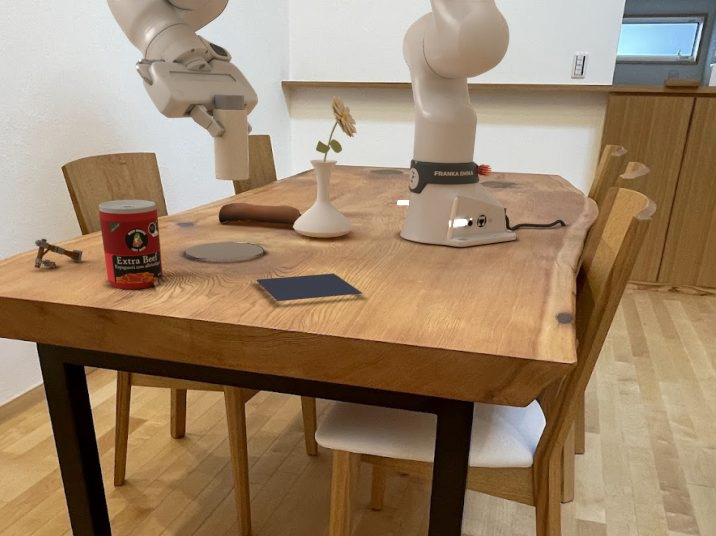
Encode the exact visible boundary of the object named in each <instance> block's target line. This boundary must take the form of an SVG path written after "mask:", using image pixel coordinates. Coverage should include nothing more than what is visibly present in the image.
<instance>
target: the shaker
mask: <svg viewBox="0 0 716 536" xmlns="http://www.w3.org/2000/svg"><path fill="white" fill-rule="evenodd" d="M214 98H215V109H212V113H213V117H212V118H213V119H214V120H215V121H220V123H221V124H222V126H223V127H224V128H225V132H224V133H223V134H222V136H221V137H216V138H213V151H214V170H215V179H216V180H221V181H246V180H249V179H250V164H249V163H250V160H249V135H248V122H249V121H248V116H247V110H245V109H244V95H214Z"/></svg>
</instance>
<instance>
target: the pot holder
mask: <svg viewBox="0 0 716 536" xmlns="http://www.w3.org/2000/svg"><path fill="white" fill-rule="evenodd" d="M255 281H256V283H258V284H259V285H260V286H261V287H262V288H264V290H265V291H267V293H269V295H271V297H272V298H274V300H275V301H276V302H283V301H284V302H285V301H295V300H297V301H298V300H306V299H308V300H309V299H316V298H317V299H318V298H328V297H340V296H350V295H351V296H352V295H361V294H363V292H362V291H361V290H359V289H358V288H357V287H355V286H353V285H352V284H351V283H349V282H347V281H346V280H344V279H343V278H342V277H340V276H339V275H337V274H335V273H334V272H333V273H321V274H309V275H297V276H283V277H271V278H258V279H255Z"/></svg>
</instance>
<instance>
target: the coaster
mask: <svg viewBox="0 0 716 536" xmlns="http://www.w3.org/2000/svg"><path fill="white" fill-rule="evenodd" d="M263 255H264V249H263V247H261V246H258V245H255V244H251V243H244V242H231V241H230V242H228V241H227V242H225V241H224V242H221V241H219V242H209V243H208V242H207V243H201V244H196V245H193V246H190V247H188V248H187V249H186V250H185V257H186V258H188V259H189V260H193V261H198V260H213V259H228V258H244V257H257V256H259V257H260V256H263Z"/></svg>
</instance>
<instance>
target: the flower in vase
mask: <svg viewBox="0 0 716 536" xmlns="http://www.w3.org/2000/svg"><path fill="white" fill-rule="evenodd" d="M330 102H331V105H330V106H331V109H332V114H333V115H334V120H335V123H334V125H333V127H332V130H331V132H330V135H329V139H328V142H327V144H325V143H323V142H322V141H320V140H318V142H317V145H316V148H315V151H317V152H319V153H321V154H324V156H323V159H311V160H309V162H310V164H311V165H312V167H313V169H314V172H315V177H316V188H317V189H316V191H317V192H316V199H315V202H314V203H313V205H311V207H309V208H308V209H307V210H306V211H305V212H304V213H302V214H301V216H300V217H299V218H298V219H297V220H296V221H295V223H294V225H292V228H293V230H294V231H295V232H296V233H298V234H300V235H301V236H302V235H303V236H306V237H310V238H311V237H312V238H322V239H323V238H326V239H327V238H336V237H342V236H345V235H347V234H350V233H351V232H352V230H353V225H352V223H351V222H350V220H349V219H348V218H347V217H346V216H345V215H344V214H343V213H342V212H340V211H339V210H338V209H337V208H336V207H335V206H334V205H333V203H332V201H331V198H330V182H331V176H332V173H333V169H334V168H335V166H336V165H337V163H338V160H333V159H327V156H328V152H329V151H330V149H332V151H333V152H335V153H336V154H339V153H341V152H342V150H343V147H342V144H341V143H340V142H339V141H338V140H336V139H335V138H333V139H332V137H333V134H334V131H335V129H336V127H337V125H338V126H339V128H340V129H341V131H342V133H344V134H346V136H349V138H354V137H355V135H354V134H357V129H356V126H355V125H356V121H355V119H354V118H353V115H351V114H350V111H351V110H350V107H349V106H345V105H344V101H343V99H342V97H341V96H339V95H338V97H337V95H336V94H334V95H333V97H332V98H331V101H330Z"/></svg>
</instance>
